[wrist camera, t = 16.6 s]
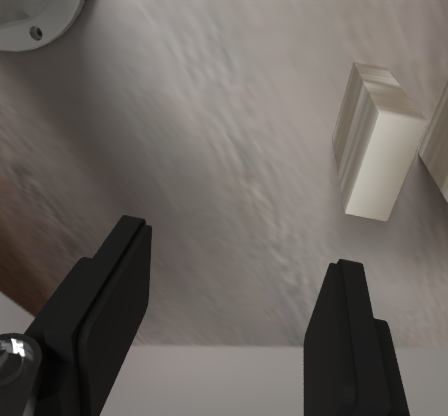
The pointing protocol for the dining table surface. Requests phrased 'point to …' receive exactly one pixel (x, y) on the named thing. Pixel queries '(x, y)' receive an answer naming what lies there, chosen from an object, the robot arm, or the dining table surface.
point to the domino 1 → (375, 141)
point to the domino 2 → (438, 145)
